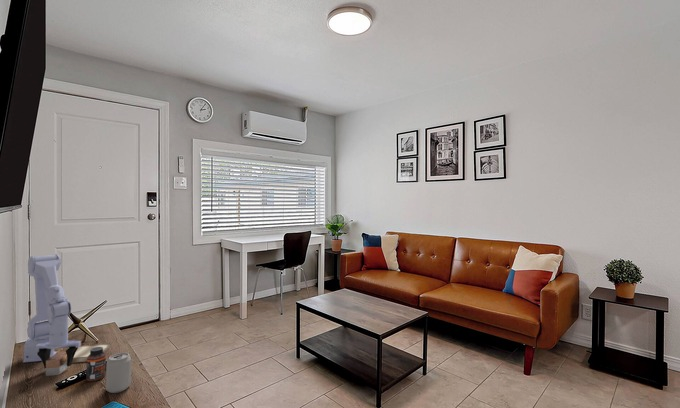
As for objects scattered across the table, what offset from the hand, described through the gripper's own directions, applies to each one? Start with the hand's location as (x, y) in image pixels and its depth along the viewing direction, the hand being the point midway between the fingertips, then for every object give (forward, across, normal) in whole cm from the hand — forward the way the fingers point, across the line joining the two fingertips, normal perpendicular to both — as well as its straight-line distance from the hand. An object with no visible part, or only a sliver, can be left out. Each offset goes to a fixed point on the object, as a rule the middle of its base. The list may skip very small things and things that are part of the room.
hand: (58, 366), depth 136 cm
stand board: (+2, +4, +13) cm, 14 cm away
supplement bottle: (+2, +17, -10) cm, 20 cm away
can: (+2, +28, -20) cm, 34 cm away
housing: (+2, 0, 0) cm, 2 cm away
